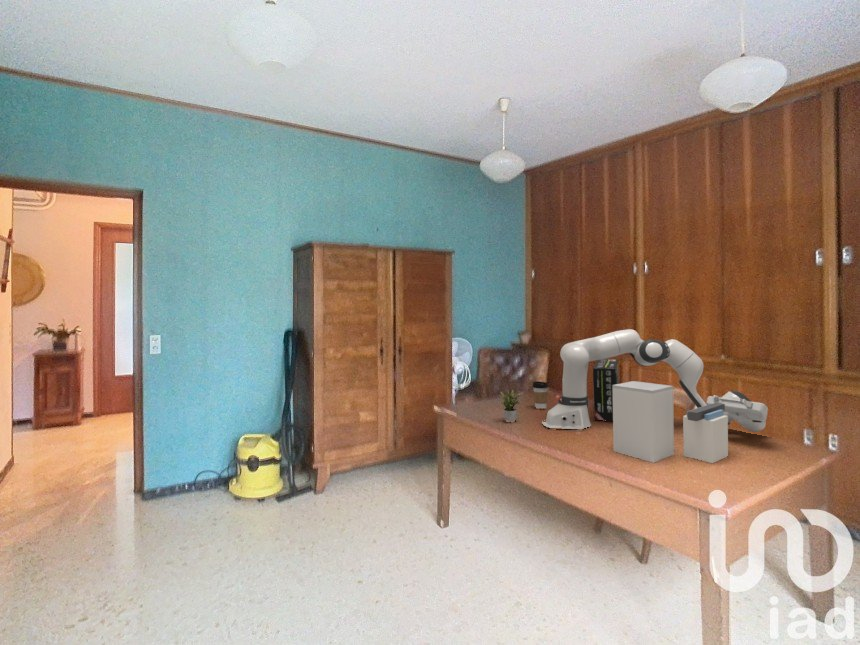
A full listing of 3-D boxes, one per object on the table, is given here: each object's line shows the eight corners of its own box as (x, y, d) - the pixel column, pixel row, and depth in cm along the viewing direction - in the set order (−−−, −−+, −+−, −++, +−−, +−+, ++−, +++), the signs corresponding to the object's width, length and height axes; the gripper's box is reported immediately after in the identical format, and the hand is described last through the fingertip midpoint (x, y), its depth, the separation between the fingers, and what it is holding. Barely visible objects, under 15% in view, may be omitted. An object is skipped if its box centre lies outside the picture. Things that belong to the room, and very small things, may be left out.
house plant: (528, 425, 215) (528, 392, 215) (500, 426, 216) (499, 392, 215) (523, 418, 230) (522, 386, 229) (496, 419, 230) (495, 387, 229)
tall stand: (634, 444, 182) (633, 380, 181) (674, 454, 169) (673, 386, 168) (613, 451, 174) (612, 385, 174) (653, 462, 161) (652, 390, 160)
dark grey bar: (716, 410, 174) (716, 402, 174) (724, 411, 171) (724, 403, 171) (687, 419, 162) (687, 411, 161) (696, 421, 159) (696, 412, 159)
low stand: (699, 449, 174) (698, 406, 173) (728, 456, 166) (727, 410, 165) (683, 456, 167) (683, 410, 167) (712, 463, 159) (712, 415, 158)
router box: (598, 406, 253) (597, 358, 252) (619, 407, 248) (619, 359, 247) (593, 421, 220) (592, 367, 219) (617, 423, 216) (616, 367, 215)
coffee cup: (534, 407, 255) (533, 380, 254) (549, 407, 252) (548, 381, 251) (531, 410, 247) (531, 383, 246) (547, 411, 244) (547, 383, 243)
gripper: (715, 400, 192) (701, 388, 185) (772, 408, 175) (759, 394, 168) (712, 414, 191) (698, 402, 184) (769, 423, 174) (756, 410, 167)
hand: (728, 398), depth 176 cm, fingers open, 8 cm apart
